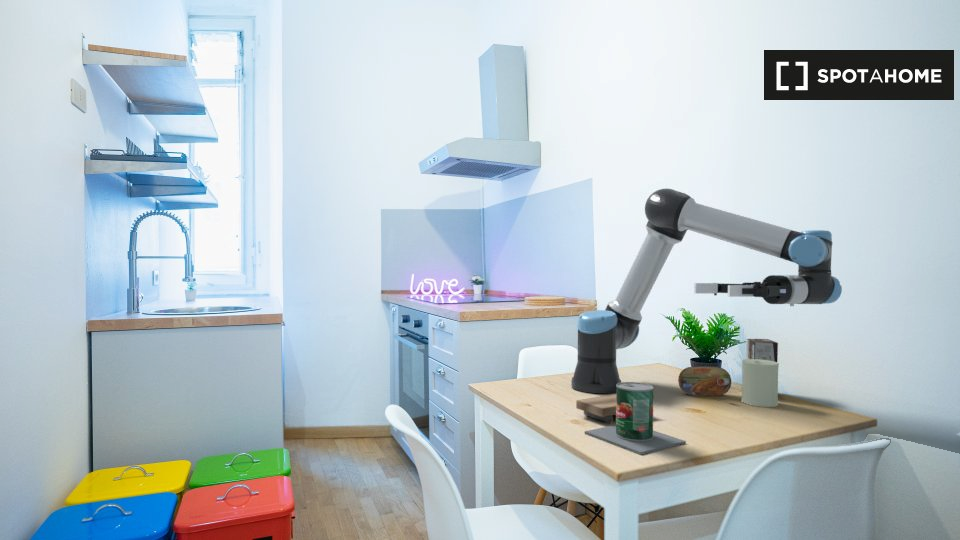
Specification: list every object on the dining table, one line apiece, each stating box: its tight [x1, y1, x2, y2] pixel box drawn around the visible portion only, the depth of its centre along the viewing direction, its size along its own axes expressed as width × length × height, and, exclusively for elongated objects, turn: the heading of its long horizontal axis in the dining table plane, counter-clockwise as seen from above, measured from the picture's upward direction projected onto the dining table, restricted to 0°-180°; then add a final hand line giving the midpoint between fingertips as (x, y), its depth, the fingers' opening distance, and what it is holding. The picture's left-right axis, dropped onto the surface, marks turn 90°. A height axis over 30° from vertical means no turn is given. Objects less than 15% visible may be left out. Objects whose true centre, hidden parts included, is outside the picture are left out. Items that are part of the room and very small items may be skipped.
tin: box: [677, 366, 732, 397], centre depth 163 cm, size 15×3×8 cm, turn 91°
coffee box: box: [746, 338, 779, 363], centre depth 165 cm, size 9×6×16 cm
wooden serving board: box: [575, 393, 616, 424], centre depth 138 cm, size 9×16×4 cm, turn 123°
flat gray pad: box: [584, 424, 687, 456], centre depth 121 cm, size 16×14×1 cm
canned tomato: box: [615, 381, 654, 442], centre depth 121 cm, size 8×8×11 cm
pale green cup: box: [740, 358, 779, 408], centre depth 154 cm, size 9×9×12 cm
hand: (710, 289), depth 140 cm, fingers open, 13 cm apart
